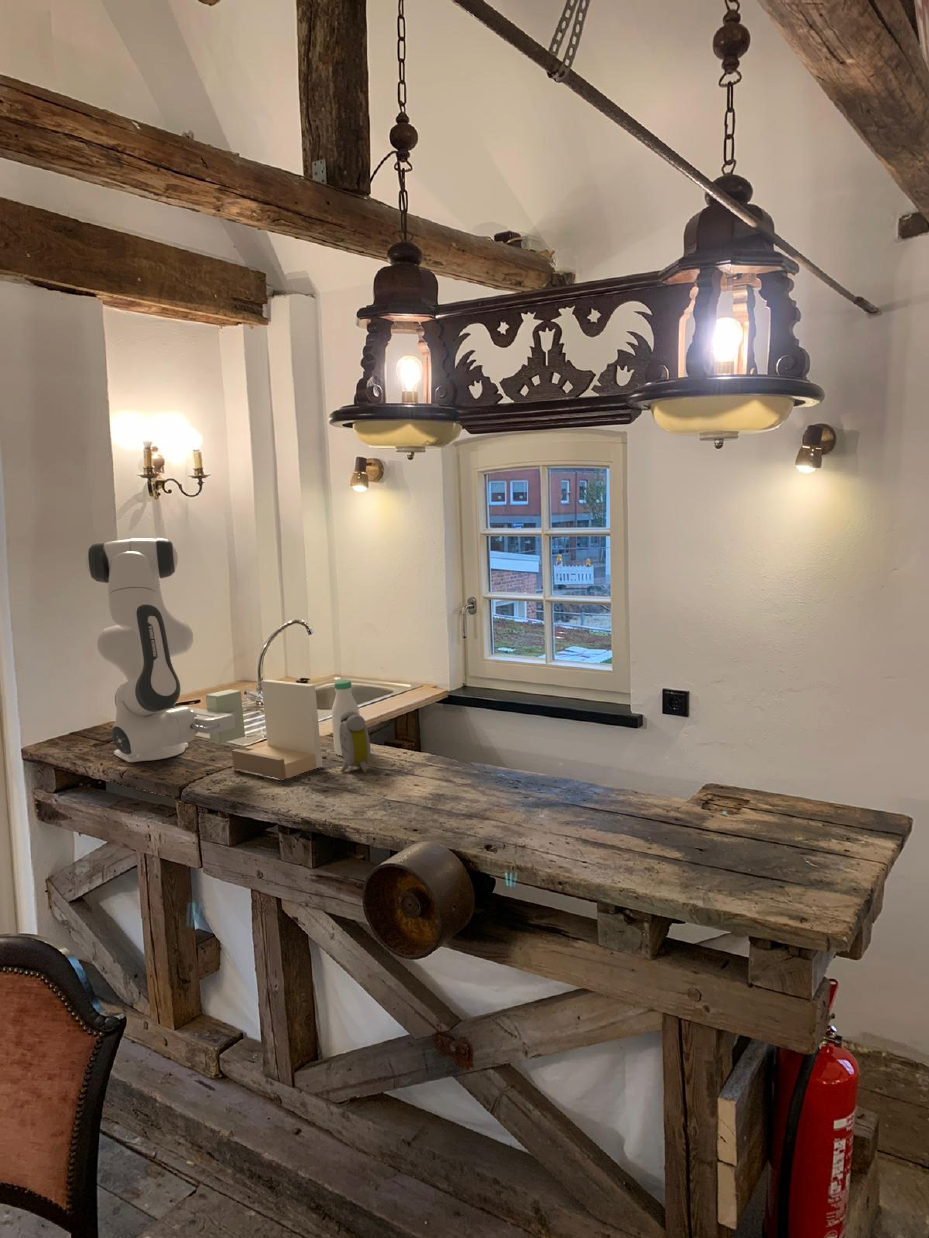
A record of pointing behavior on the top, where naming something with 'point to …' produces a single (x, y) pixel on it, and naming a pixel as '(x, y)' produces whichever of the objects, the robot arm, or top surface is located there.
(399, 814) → the top surface
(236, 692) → the cabinet
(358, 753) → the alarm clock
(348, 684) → the milk bottle
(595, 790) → the top surface
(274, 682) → the wall board
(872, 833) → the top surface
